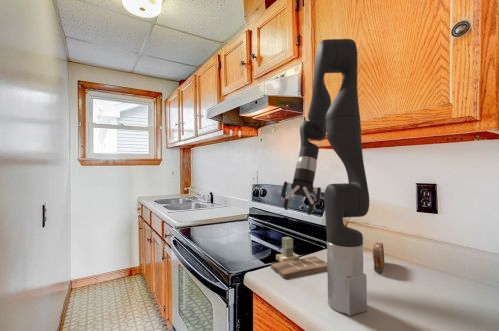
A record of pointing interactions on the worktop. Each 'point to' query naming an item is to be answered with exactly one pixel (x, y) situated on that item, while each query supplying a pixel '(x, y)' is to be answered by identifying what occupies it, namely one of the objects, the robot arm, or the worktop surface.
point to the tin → (378, 257)
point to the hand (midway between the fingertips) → (297, 212)
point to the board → (299, 267)
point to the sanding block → (287, 251)
